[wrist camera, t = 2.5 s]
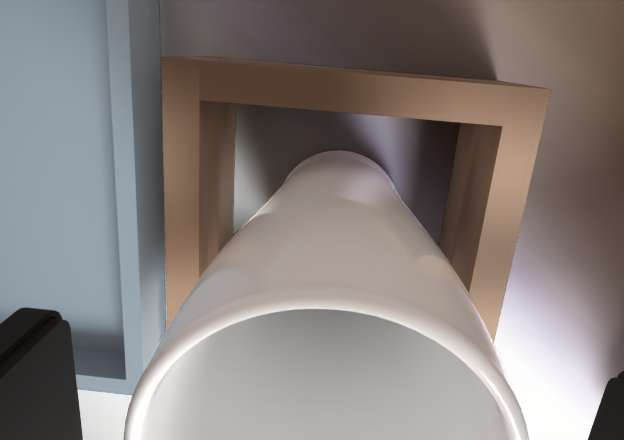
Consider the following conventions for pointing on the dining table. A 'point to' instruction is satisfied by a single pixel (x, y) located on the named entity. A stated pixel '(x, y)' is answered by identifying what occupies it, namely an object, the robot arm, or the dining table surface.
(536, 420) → the dining table surface
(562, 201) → the dining table surface
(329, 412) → the drinking glass
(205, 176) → the frame
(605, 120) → the dining table surface
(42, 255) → the tray
